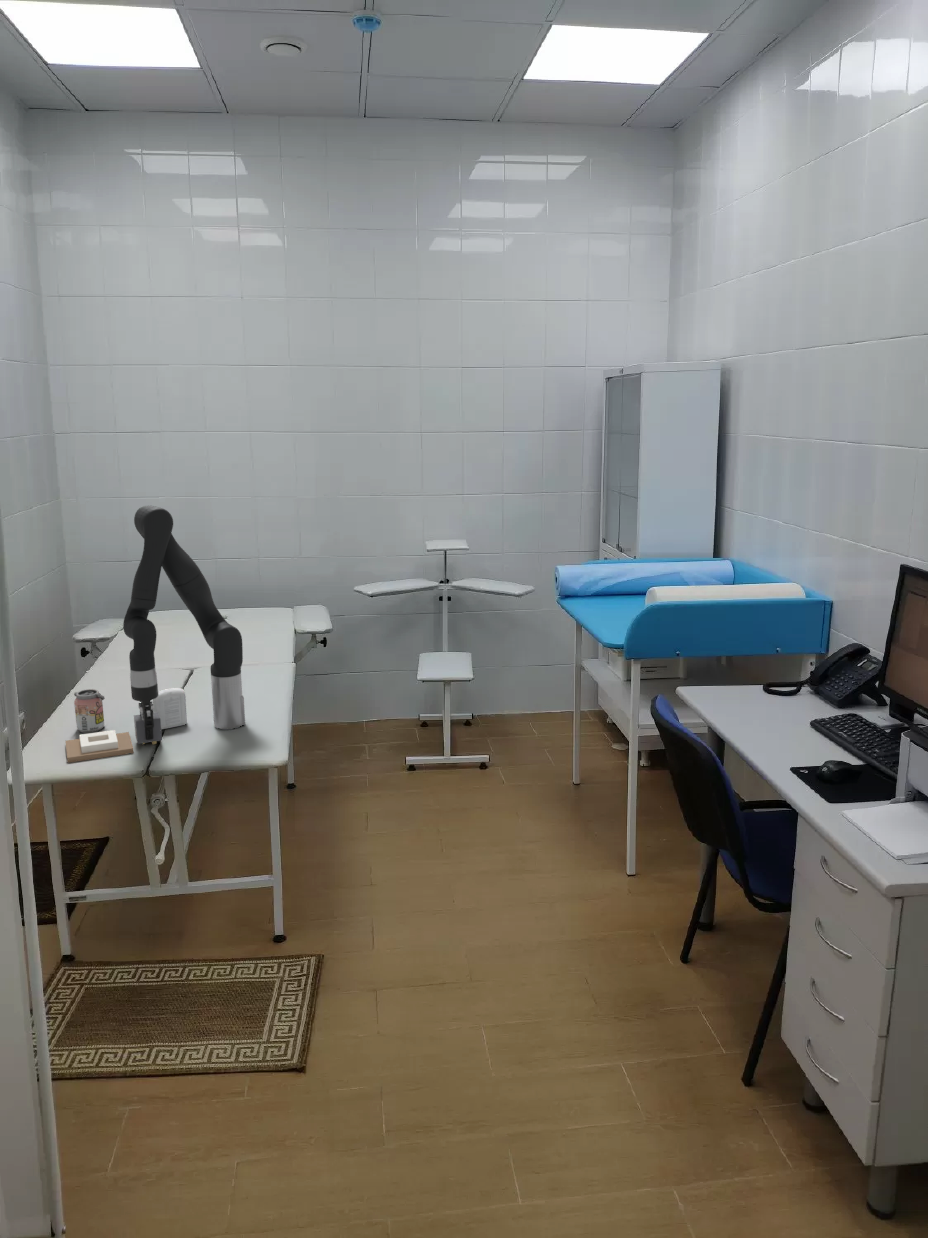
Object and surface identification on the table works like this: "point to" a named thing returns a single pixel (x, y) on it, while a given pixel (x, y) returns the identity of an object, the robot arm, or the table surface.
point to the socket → (98, 746)
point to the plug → (141, 730)
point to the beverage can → (89, 710)
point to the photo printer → (171, 707)
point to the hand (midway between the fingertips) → (148, 735)
